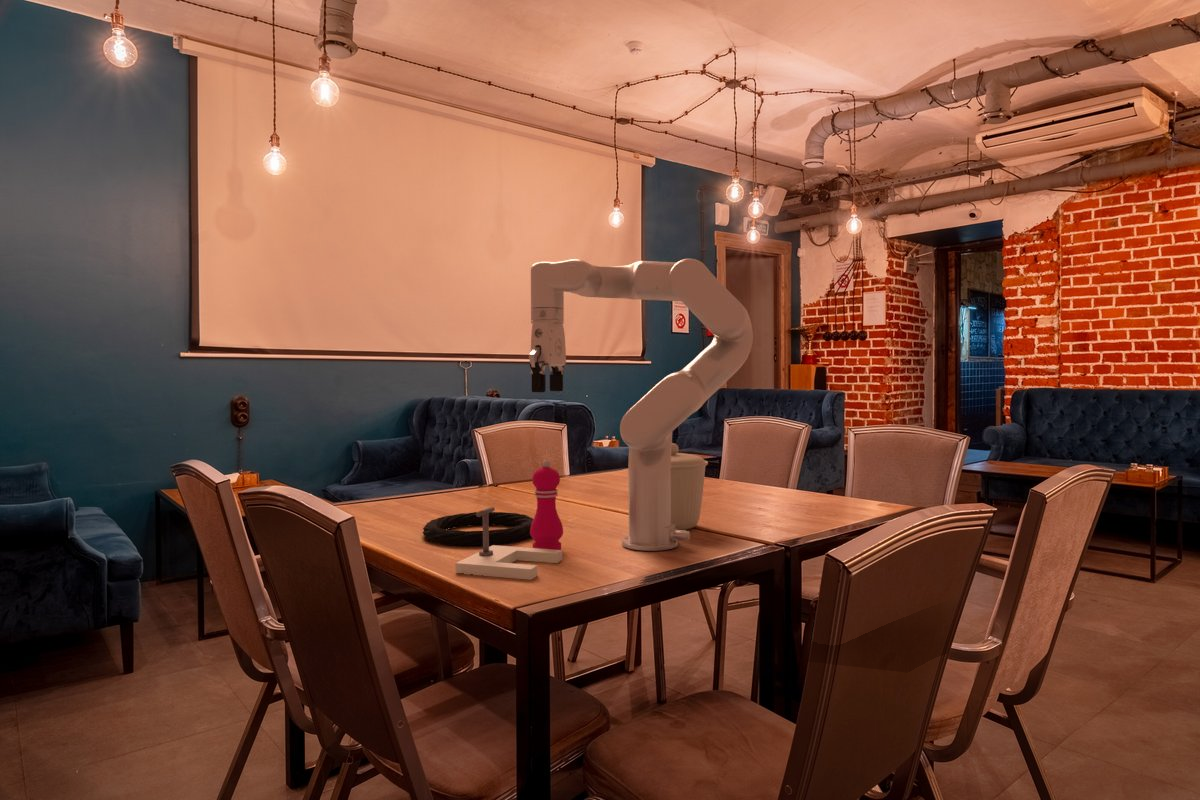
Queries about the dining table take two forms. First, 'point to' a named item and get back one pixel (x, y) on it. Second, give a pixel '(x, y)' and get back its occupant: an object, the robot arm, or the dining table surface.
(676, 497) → the canister
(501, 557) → the u-shaped stand
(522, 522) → the cable lock
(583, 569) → the dining table surface
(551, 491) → the pepper mill
